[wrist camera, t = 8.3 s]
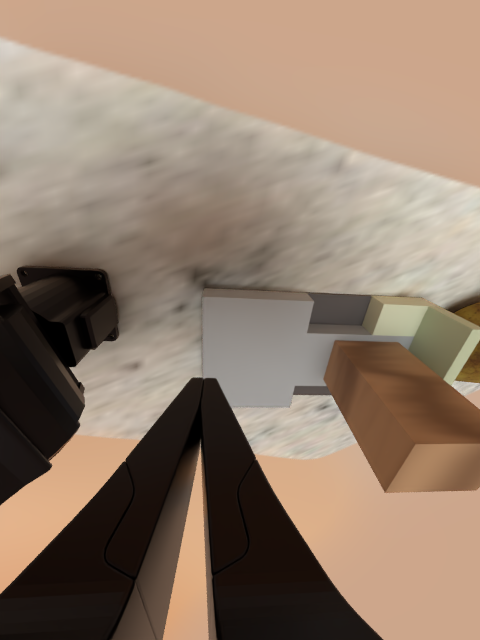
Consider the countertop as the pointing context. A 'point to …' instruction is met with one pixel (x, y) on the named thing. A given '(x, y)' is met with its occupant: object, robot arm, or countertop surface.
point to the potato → (476, 366)
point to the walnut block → (405, 418)
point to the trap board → (316, 339)
